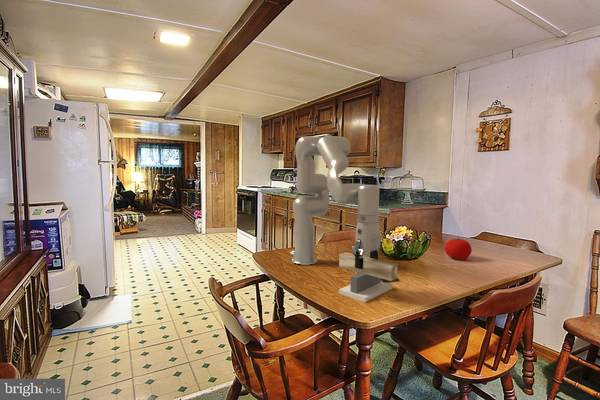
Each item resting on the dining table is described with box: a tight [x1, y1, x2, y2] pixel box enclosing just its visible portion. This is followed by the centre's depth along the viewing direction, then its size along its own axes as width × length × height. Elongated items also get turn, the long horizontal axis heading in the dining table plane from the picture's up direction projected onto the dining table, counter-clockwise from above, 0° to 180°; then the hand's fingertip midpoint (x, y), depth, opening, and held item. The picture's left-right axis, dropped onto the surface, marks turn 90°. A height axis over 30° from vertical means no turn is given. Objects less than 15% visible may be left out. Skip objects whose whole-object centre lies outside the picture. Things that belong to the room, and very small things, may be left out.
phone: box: [381, 277, 400, 283], centre depth 134 cm, size 8×1×15 cm
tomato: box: [444, 237, 473, 261], centre depth 161 cm, size 11×12×10 cm
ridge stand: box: [338, 272, 393, 303], centre depth 116 cm, size 11×18×7 cm, turn 135°
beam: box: [338, 252, 398, 282], centre depth 116 cm, size 4×22×5 cm, turn 45°
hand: (366, 265), depth 116 cm, fingers open, 9 cm apart
